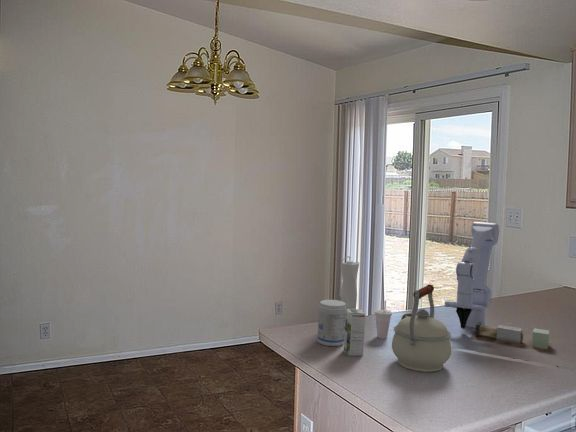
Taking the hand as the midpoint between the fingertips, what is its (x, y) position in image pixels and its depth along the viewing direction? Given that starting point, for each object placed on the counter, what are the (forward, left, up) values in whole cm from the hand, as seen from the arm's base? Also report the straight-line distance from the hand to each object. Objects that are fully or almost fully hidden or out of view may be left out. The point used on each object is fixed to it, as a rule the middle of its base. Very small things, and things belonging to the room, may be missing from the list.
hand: (463, 327), depth 194 cm
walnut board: (+17, 0, -3) cm, 17 cm away
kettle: (-6, -41, -3) cm, 42 cm away
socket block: (+27, 0, -2) cm, 27 cm away
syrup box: (-28, -45, -3) cm, 53 cm away
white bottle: (-43, -15, -3) cm, 45 cm away
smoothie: (-26, -21, -3) cm, 33 cm away
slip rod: (+14, 0, -2) cm, 14 cm away
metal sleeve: (+16, 0, -2) cm, 17 cm away
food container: (-13, -19, -3) cm, 23 cm away
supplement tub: (-39, -39, -3) cm, 55 cm away
